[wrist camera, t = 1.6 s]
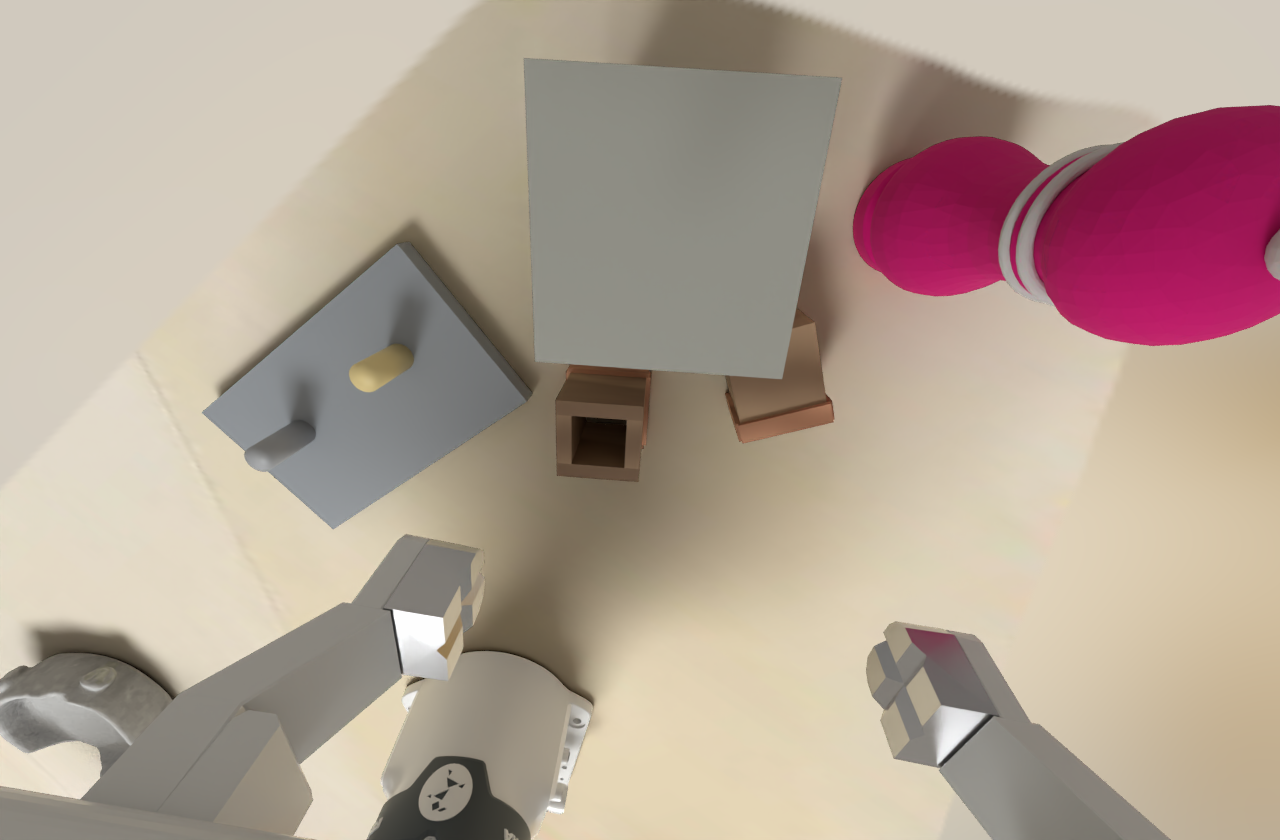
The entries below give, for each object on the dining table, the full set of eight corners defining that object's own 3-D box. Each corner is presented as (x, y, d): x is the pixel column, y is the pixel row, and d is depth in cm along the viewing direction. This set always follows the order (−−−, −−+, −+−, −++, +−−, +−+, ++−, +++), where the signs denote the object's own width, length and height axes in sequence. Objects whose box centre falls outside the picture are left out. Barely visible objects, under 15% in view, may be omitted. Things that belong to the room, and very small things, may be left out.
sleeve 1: (646, 441, 34) (643, 486, 29) (569, 435, 34) (552, 479, 29) (651, 367, 32) (649, 402, 26) (569, 362, 32) (550, 395, 26)
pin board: (532, 393, 33) (509, 427, 28) (345, 517, 38) (297, 564, 33) (409, 241, 29) (356, 250, 24) (219, 404, 34) (144, 438, 29)
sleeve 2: (810, 388, 32) (836, 421, 27) (728, 408, 33) (740, 444, 28) (796, 302, 30) (822, 322, 25) (709, 326, 30) (717, 350, 26)
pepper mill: (831, 179, 27) (1191, 130, 8) (966, 123, 25) (1744, -80, 7) (856, 300, 29) (1170, 457, 11) (979, 255, 28) (1566, 352, 10)
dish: (197, 741, 53) (153, 792, 48) (69, 719, 52) (13, 769, 48) (170, 655, 47) (117, 703, 42) (26, 629, 46) (-44, 675, 42)
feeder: (722, 340, 31) (768, 448, 17) (591, 331, 31) (537, 430, 17) (749, 142, 26) (841, 77, 13) (595, 132, 26) (523, 58, 13)
